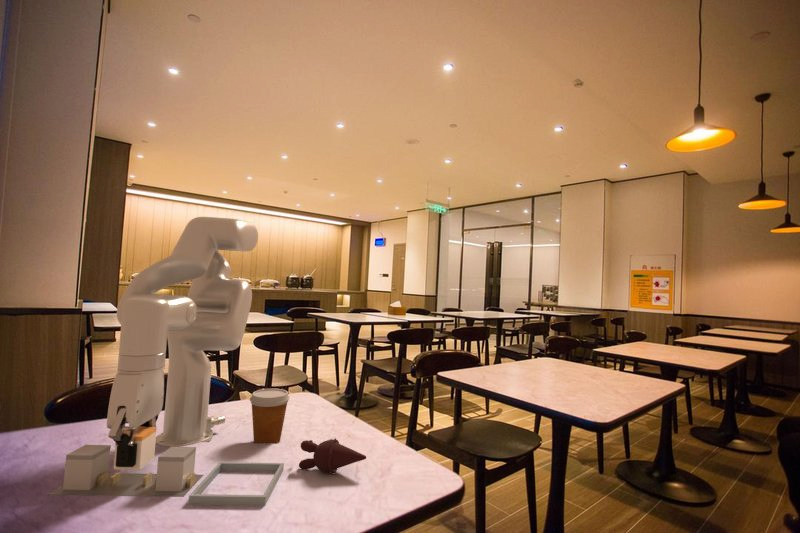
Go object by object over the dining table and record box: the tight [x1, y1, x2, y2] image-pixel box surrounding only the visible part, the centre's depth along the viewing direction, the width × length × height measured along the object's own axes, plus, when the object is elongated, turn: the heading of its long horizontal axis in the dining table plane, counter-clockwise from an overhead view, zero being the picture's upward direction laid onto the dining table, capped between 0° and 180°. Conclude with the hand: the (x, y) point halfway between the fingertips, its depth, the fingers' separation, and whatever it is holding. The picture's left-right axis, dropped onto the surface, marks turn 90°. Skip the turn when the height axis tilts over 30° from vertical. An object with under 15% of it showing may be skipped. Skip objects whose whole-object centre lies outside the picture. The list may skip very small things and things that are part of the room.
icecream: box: [298, 437, 367, 475], centre depth 82 cm, size 7×7×15 cm
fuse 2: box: [155, 446, 197, 491], centre depth 72 cm, size 5×5×6 cm
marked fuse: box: [113, 426, 157, 471], centre depth 72 cm, size 5×5×6 cm
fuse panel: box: [47, 471, 204, 498], centre depth 71 cm, size 8×23×3 cm, turn 94°
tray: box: [187, 461, 285, 507], centre depth 72 cm, size 13×13×2 cm
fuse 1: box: [62, 444, 112, 490], centre depth 71 cm, size 5×5×6 cm
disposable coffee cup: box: [249, 388, 291, 445], centre depth 96 cm, size 10×10×12 cm
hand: (134, 458), depth 72 cm, fingers closed on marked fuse, 4 cm apart
